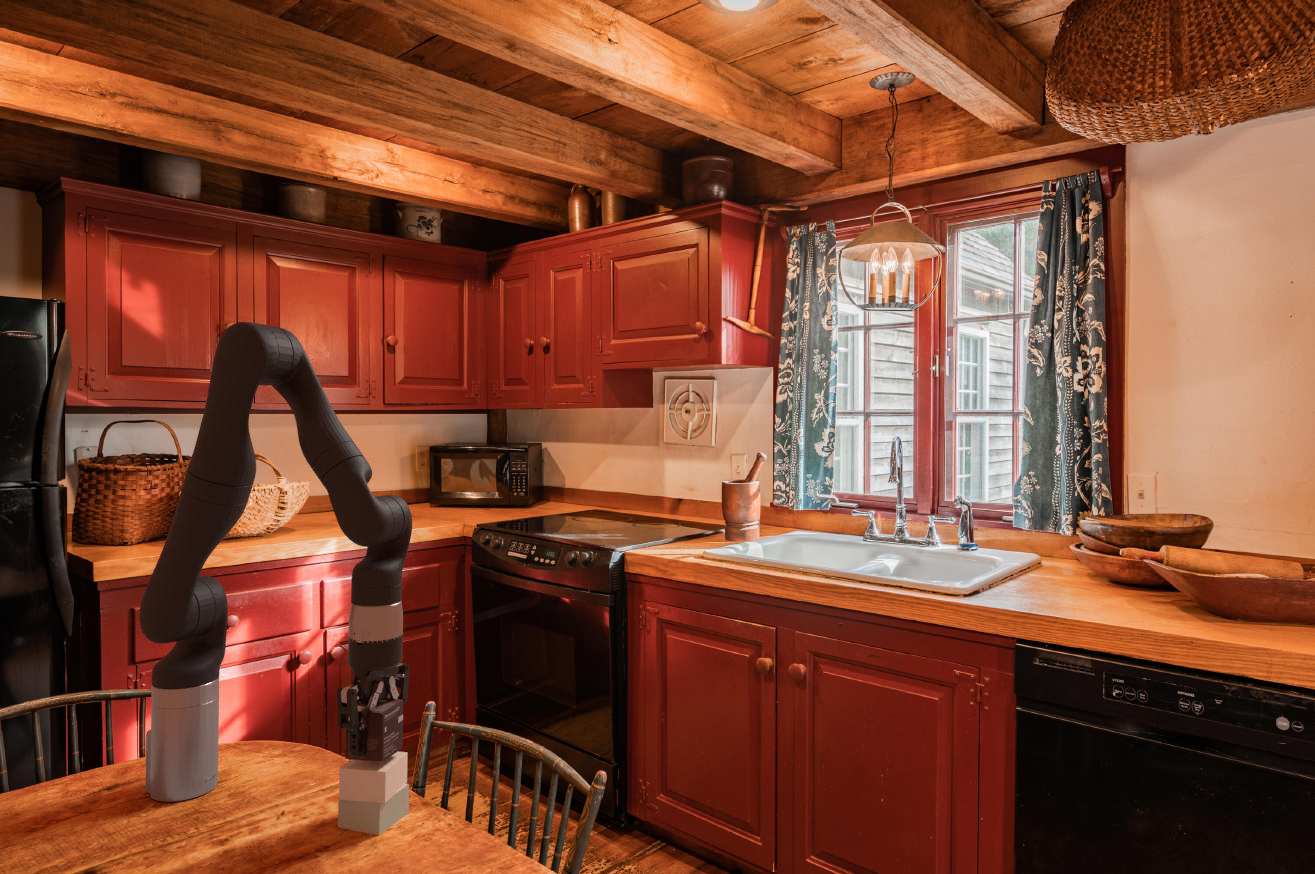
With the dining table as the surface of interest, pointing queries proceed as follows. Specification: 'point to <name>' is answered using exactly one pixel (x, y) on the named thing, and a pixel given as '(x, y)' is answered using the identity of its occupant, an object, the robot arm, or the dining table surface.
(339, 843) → the dining table surface
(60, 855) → the dining table surface
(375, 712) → the box
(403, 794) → the tower base
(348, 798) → the tower top
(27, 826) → the dining table surface
